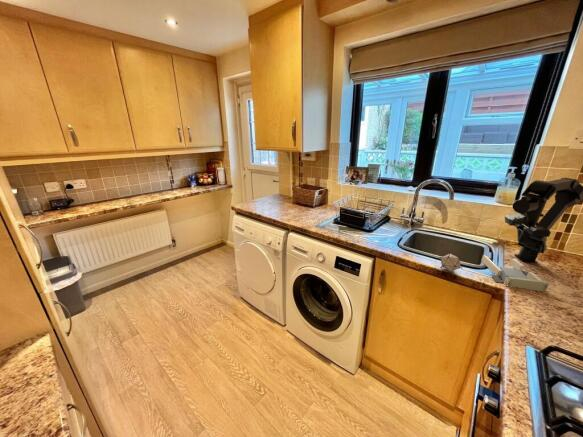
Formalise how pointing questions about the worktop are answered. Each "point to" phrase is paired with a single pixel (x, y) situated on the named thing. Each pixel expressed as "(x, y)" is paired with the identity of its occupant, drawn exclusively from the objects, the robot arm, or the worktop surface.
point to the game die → (450, 262)
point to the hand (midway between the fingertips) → (519, 241)
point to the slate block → (511, 273)
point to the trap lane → (514, 263)
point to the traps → (501, 280)
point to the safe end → (527, 283)
